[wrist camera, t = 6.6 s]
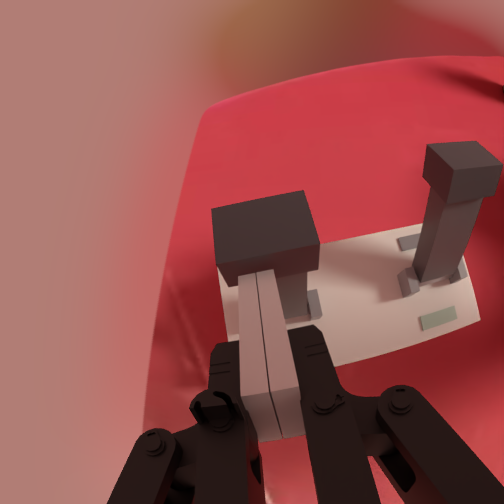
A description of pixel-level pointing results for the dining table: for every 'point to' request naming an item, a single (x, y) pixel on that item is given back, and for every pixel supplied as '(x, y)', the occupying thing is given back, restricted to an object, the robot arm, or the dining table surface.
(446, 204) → the inner lever
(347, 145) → the dining table surface
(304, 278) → the outer lever
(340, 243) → the switch panel
